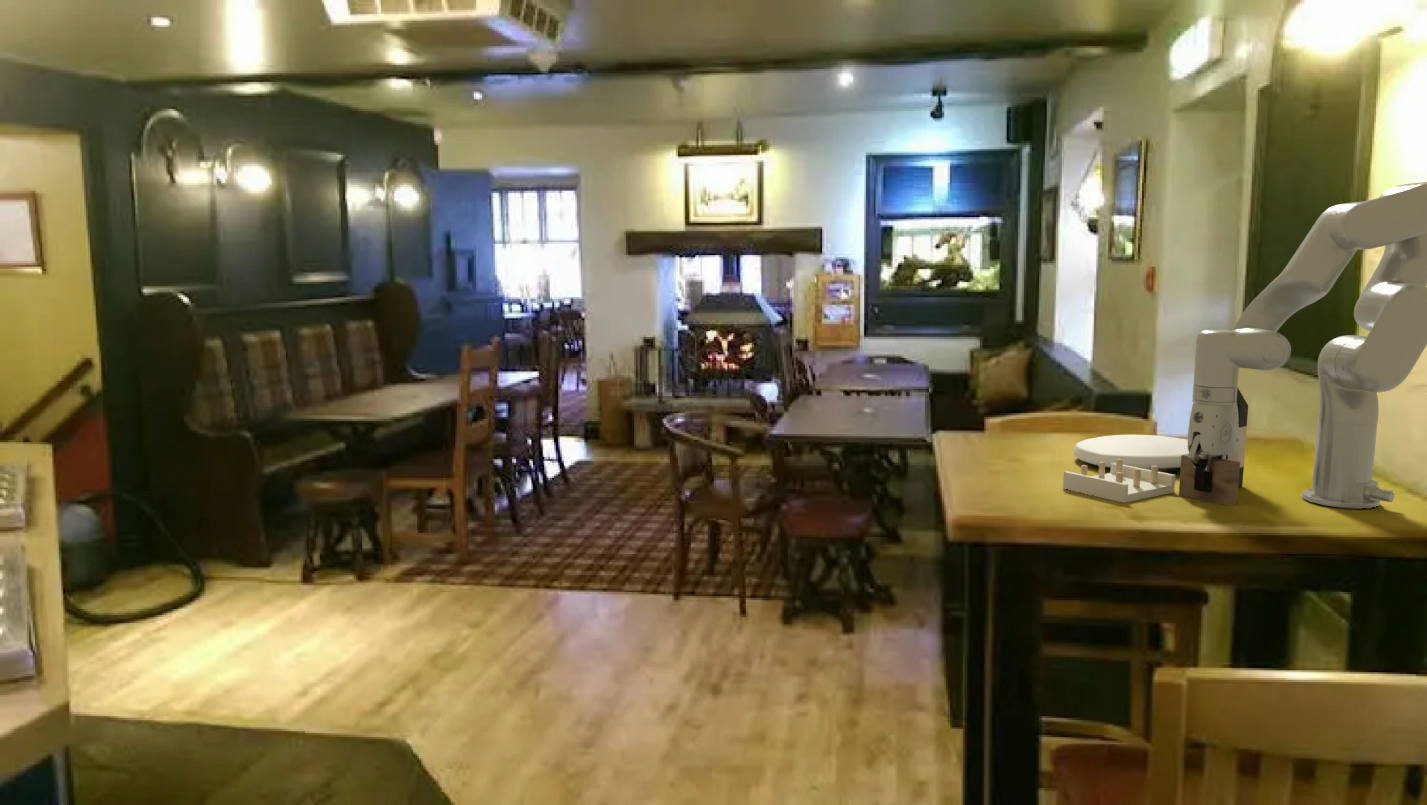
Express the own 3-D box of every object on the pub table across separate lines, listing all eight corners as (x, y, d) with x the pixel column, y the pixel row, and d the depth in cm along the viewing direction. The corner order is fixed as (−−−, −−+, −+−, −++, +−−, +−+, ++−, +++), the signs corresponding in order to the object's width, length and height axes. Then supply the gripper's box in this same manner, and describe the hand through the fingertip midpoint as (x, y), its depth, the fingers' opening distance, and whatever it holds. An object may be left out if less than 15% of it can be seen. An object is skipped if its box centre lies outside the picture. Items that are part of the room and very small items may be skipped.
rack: (1174, 492, 200) (1175, 467, 200) (1124, 502, 192) (1125, 477, 191) (1112, 479, 212) (1114, 455, 211) (1063, 488, 203) (1064, 464, 203)
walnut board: (1237, 503, 191) (1240, 462, 190) (1228, 505, 189) (1231, 463, 188) (1187, 493, 199) (1190, 453, 198) (1178, 495, 198) (1181, 455, 197)
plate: (1090, 454, 216) (1060, 433, 242) (1092, 483, 216) (1062, 460, 243) (1227, 442, 212) (1182, 422, 239) (1229, 472, 213) (1183, 449, 239)
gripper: (1208, 400, 184) (1201, 499, 187) (1258, 394, 193) (1250, 488, 195) (1170, 396, 190) (1164, 491, 193) (1220, 389, 199) (1213, 481, 202)
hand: (1208, 488), depth 194 cm, fingers closed on walnut board, 3 cm apart
